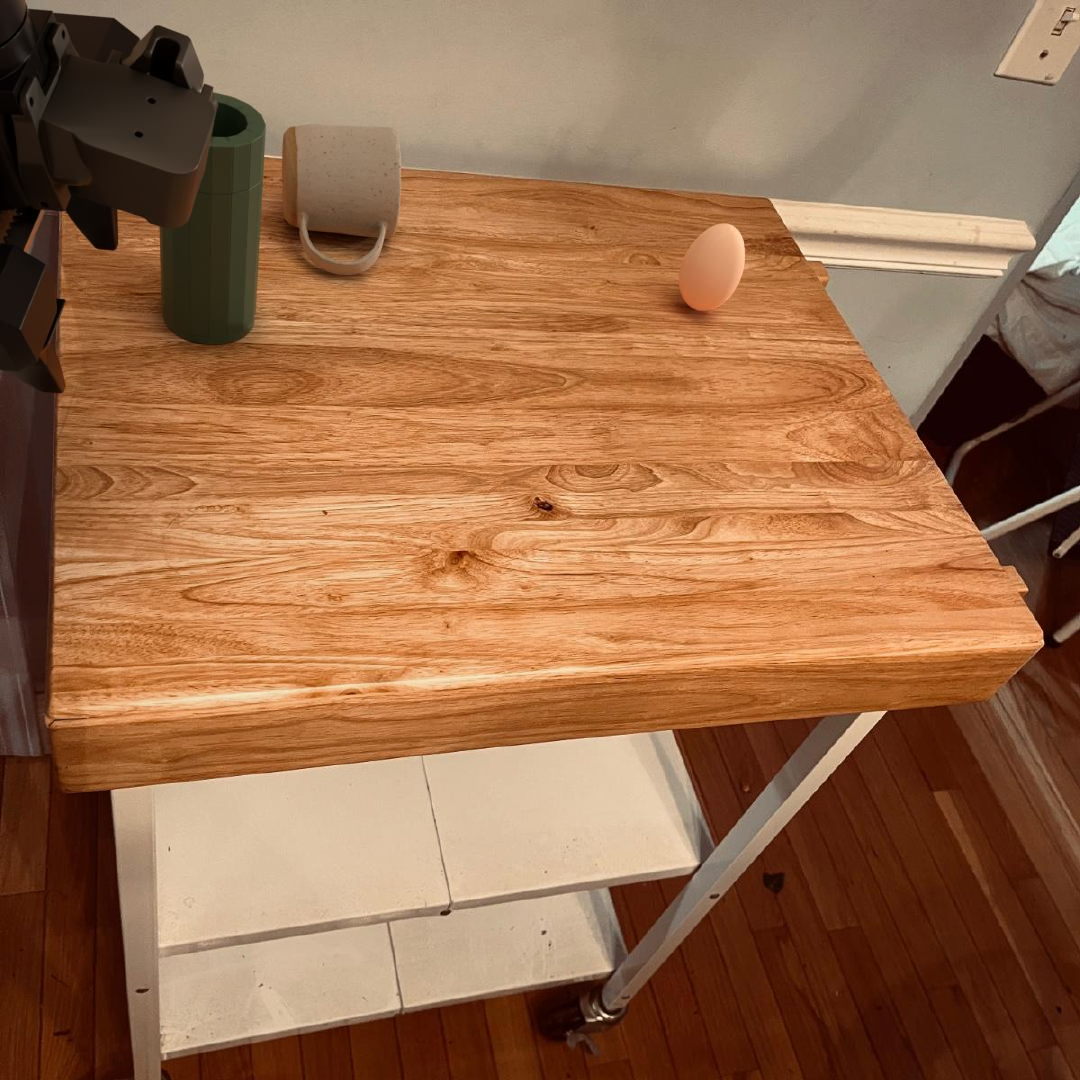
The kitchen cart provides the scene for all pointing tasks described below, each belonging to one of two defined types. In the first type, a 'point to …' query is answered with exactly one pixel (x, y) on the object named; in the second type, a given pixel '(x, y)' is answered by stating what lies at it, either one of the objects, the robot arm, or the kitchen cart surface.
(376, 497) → the kitchen cart surface
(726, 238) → the egg
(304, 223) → the ceramic mug
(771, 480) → the kitchen cart surface
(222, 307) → the hollow cylinder
